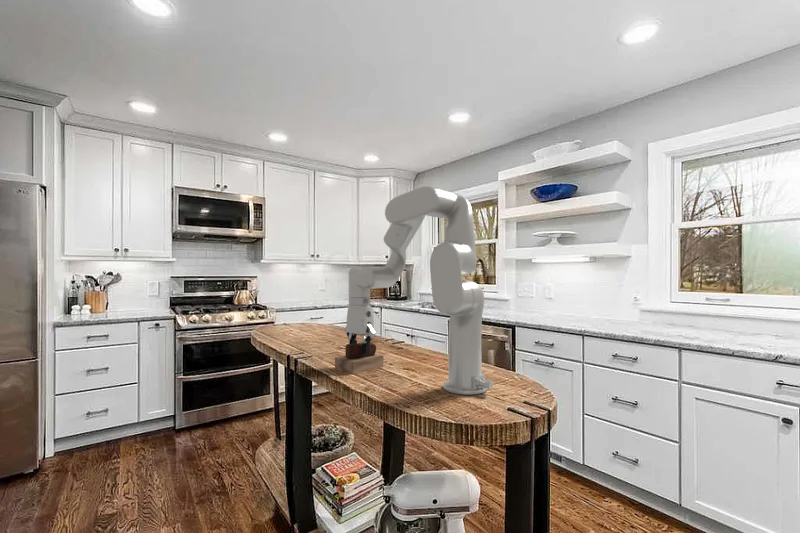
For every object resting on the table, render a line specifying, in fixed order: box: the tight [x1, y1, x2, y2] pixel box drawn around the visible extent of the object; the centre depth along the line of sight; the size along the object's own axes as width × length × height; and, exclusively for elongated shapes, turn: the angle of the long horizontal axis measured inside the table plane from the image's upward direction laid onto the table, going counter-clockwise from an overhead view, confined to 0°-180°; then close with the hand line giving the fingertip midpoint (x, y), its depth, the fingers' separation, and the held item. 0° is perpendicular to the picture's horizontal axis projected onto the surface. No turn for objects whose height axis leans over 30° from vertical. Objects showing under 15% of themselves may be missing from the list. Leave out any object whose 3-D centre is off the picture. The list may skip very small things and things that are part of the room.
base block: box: [334, 353, 384, 375], centre depth 144 cm, size 10×14×4 cm
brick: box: [344, 342, 377, 359], centre depth 144 cm, size 11×4×5 cm, turn 129°
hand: (359, 352), depth 144 cm, fingers open, 6 cm apart
